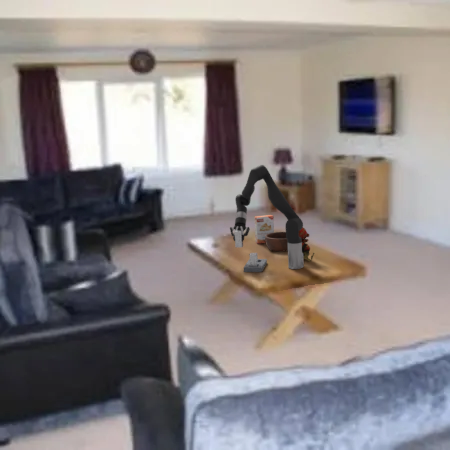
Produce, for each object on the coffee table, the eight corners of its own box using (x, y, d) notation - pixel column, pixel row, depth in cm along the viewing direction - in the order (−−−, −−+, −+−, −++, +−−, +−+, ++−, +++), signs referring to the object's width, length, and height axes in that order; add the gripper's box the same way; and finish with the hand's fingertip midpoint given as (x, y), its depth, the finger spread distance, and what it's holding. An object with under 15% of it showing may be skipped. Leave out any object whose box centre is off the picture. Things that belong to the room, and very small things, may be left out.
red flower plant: (320, 258, 456) (311, 224, 449) (297, 266, 454) (288, 233, 447) (312, 252, 471) (303, 219, 464) (290, 260, 468) (281, 228, 461)
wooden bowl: (299, 244, 508) (298, 231, 506) (299, 252, 483) (298, 238, 481) (266, 245, 510) (265, 232, 508) (264, 253, 486) (264, 239, 484)
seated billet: (251, 268, 445) (250, 252, 443) (258, 268, 444) (257, 252, 442) (250, 270, 441) (249, 254, 439) (256, 270, 440) (256, 254, 438)
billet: (236, 245, 456) (235, 230, 454) (243, 245, 455) (242, 230, 453) (235, 247, 451) (234, 231, 449) (242, 247, 450) (241, 231, 448)
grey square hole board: (249, 263, 460) (249, 259, 459) (266, 263, 457) (266, 259, 457) (243, 271, 439) (243, 267, 438) (261, 271, 436) (261, 267, 436)
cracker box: (257, 244, 515) (256, 217, 511) (255, 242, 521) (254, 216, 517) (274, 242, 519) (273, 215, 515) (272, 240, 525) (271, 214, 521)
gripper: (229, 216, 458) (227, 237, 449) (250, 216, 455) (248, 237, 446) (231, 222, 464) (229, 243, 455) (251, 222, 461) (249, 243, 452)
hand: (238, 240), depth 450 cm, fingers closed on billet, 4 cm apart
